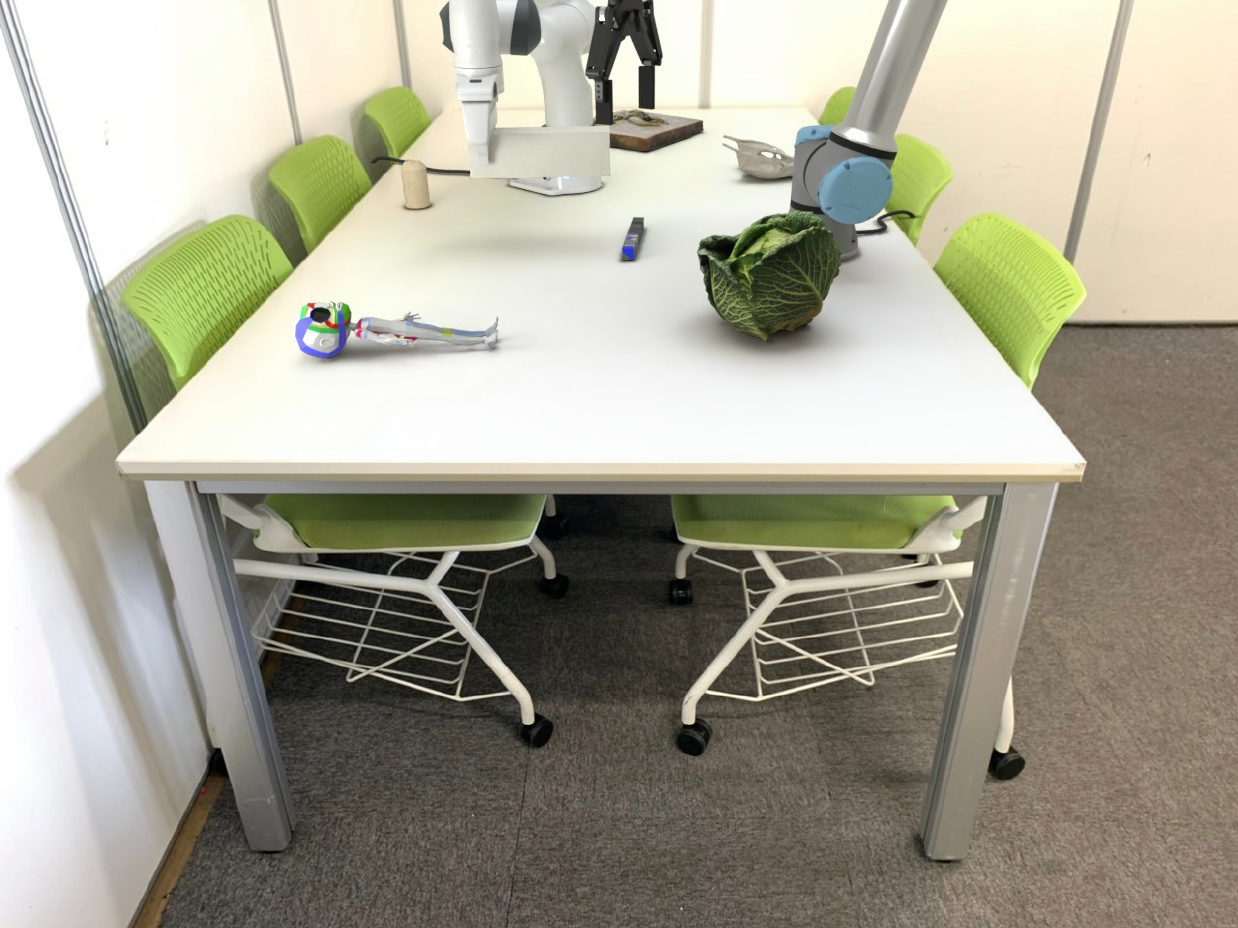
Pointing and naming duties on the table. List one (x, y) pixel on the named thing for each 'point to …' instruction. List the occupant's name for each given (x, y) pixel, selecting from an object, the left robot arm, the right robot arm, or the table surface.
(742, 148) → the anatomical model
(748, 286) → the vegetable
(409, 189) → the candle
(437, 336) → the toy
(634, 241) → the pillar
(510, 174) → the bar
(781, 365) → the table surface
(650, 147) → the plaque
